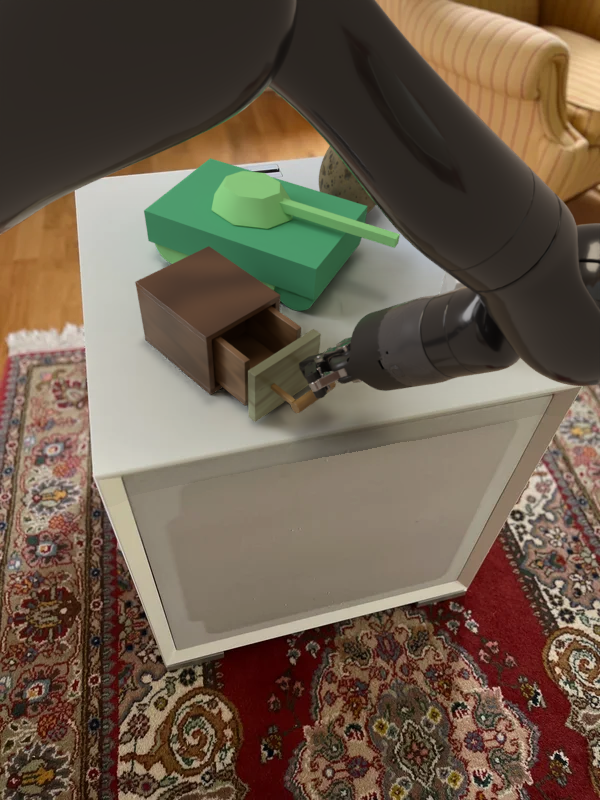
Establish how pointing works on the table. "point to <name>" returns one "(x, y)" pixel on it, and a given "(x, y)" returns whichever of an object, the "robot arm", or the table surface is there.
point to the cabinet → (198, 309)
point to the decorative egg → (341, 181)
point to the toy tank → (262, 228)
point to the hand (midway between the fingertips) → (306, 368)
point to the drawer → (265, 362)
